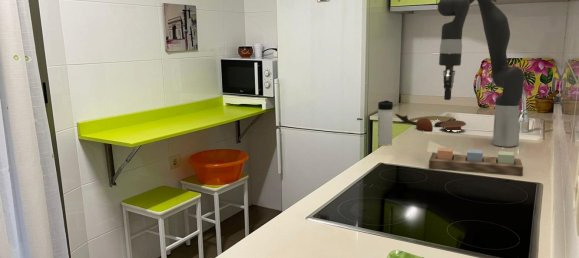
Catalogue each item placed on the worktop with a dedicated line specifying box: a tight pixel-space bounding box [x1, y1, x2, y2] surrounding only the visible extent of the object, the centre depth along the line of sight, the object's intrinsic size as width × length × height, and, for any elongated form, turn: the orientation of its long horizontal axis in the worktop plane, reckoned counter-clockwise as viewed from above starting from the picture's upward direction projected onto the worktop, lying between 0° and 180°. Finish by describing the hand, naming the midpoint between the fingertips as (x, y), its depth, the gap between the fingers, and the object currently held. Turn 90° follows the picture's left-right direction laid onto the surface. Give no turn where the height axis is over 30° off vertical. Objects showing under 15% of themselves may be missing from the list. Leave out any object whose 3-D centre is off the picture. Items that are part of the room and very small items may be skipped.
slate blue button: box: [466, 149, 484, 162], centre depth 161 cm, size 5×5×3 cm
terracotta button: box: [436, 147, 454, 160], centre depth 165 cm, size 5×5×3 cm
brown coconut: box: [439, 119, 467, 131], centre depth 222 cm, size 12×12×6 cm
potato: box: [415, 118, 434, 133], centre depth 226 cm, size 8×12×8 cm
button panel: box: [428, 152, 524, 177], centre depth 161 cm, size 30×12×3 cm, turn 67°
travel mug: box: [377, 100, 394, 147], centre depth 197 cm, size 6×7×20 cm
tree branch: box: [394, 113, 457, 127], centre depth 244 cm, size 22×30×8 cm
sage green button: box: [497, 150, 516, 164], centre depth 157 cm, size 5×5×3 cm
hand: (447, 99), depth 167 cm, fingers closed
